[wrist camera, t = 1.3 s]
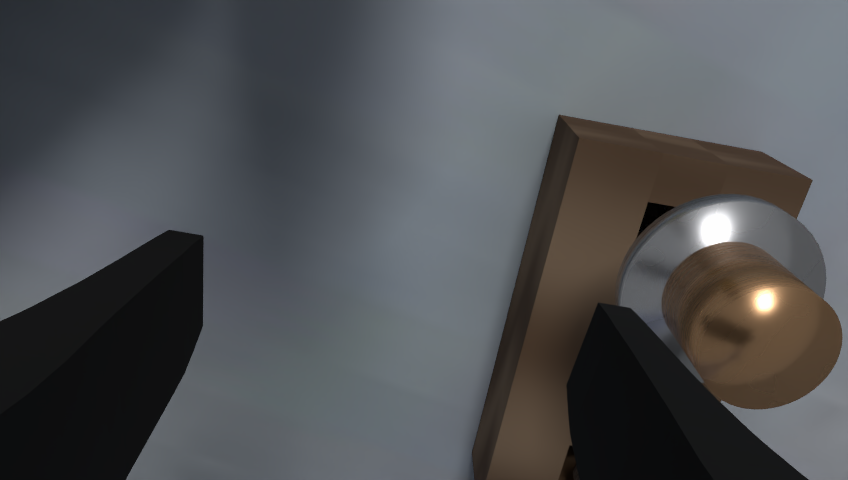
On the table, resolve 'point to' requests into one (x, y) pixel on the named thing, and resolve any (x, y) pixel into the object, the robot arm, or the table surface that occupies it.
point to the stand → (592, 271)
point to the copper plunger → (735, 298)
